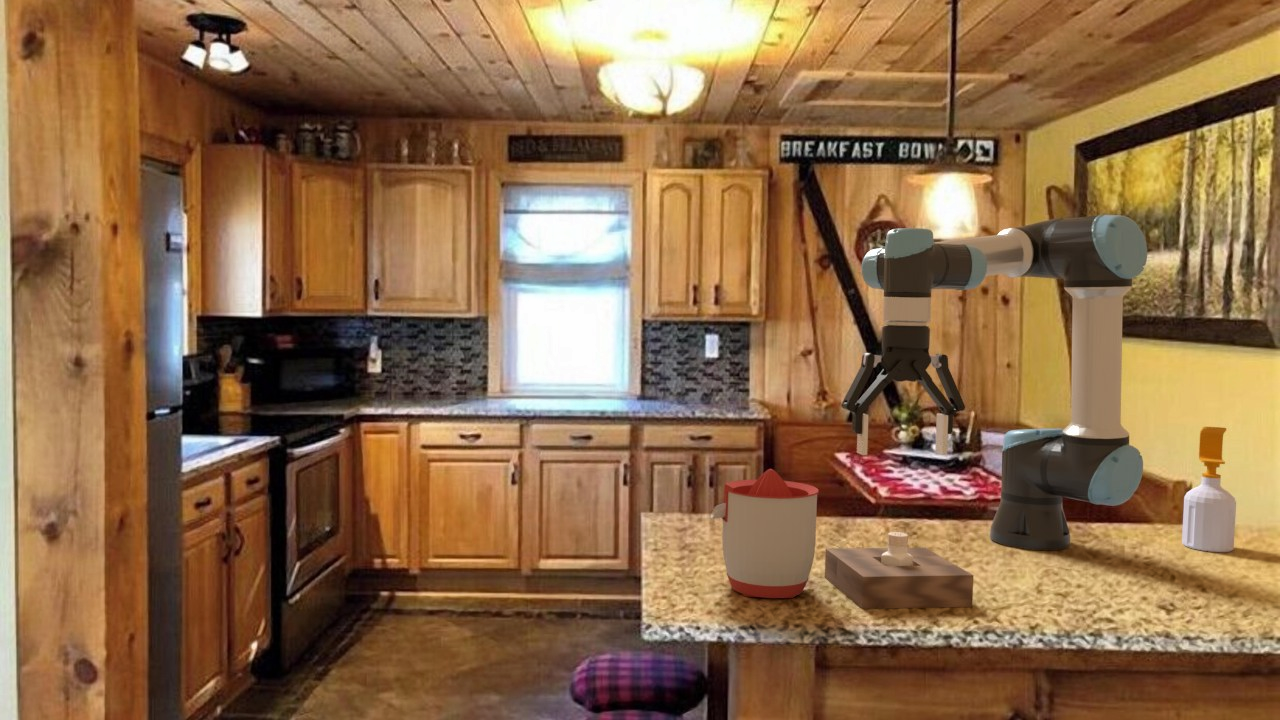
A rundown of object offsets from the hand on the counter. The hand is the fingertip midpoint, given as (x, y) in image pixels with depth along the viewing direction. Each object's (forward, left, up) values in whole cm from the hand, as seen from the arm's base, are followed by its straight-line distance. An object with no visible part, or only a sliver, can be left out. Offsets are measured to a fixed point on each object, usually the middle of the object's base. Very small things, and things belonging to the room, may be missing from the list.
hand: (901, 454), depth 164 cm
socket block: (+1, +1, -23) cm, 23 cm away
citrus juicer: (+23, -1, -23) cm, 32 cm away
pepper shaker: (0, +1, -23) cm, 23 cm away
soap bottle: (-76, -26, -23) cm, 84 cm away
